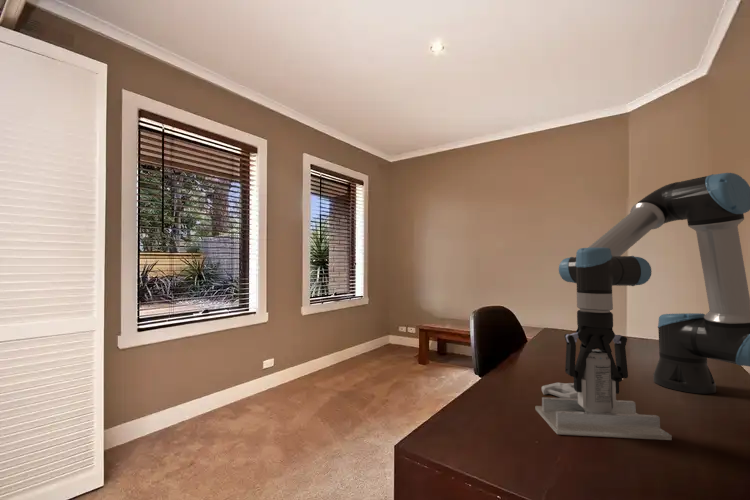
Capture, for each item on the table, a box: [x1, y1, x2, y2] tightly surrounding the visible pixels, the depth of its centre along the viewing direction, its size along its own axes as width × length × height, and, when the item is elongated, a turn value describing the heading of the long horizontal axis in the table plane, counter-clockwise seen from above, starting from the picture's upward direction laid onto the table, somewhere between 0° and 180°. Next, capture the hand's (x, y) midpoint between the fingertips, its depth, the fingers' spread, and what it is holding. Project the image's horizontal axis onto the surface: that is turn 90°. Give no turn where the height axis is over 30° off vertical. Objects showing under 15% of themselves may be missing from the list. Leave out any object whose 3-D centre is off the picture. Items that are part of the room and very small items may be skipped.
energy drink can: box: [583, 349, 612, 413], centre depth 86 cm, size 6×6×15 cm
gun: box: [541, 382, 578, 399], centre depth 106 cm, size 18×4×10 cm
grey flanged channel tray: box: [535, 396, 673, 441], centre depth 86 cm, size 24×14×4 cm, turn 84°
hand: (596, 405), depth 86 cm, fingers closed on energy drink can, 6 cm apart
